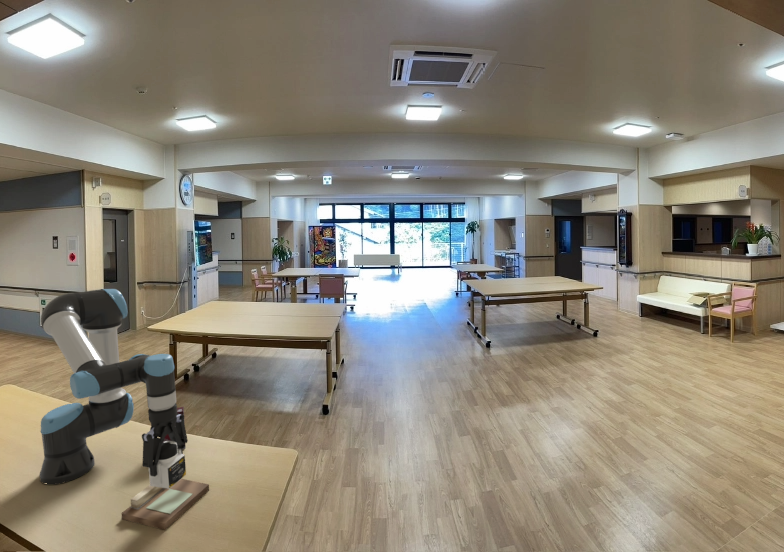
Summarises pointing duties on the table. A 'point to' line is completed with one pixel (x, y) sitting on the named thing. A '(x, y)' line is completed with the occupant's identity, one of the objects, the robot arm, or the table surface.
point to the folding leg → (144, 496)
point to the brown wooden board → (167, 504)
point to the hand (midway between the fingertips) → (168, 475)
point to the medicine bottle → (170, 465)
